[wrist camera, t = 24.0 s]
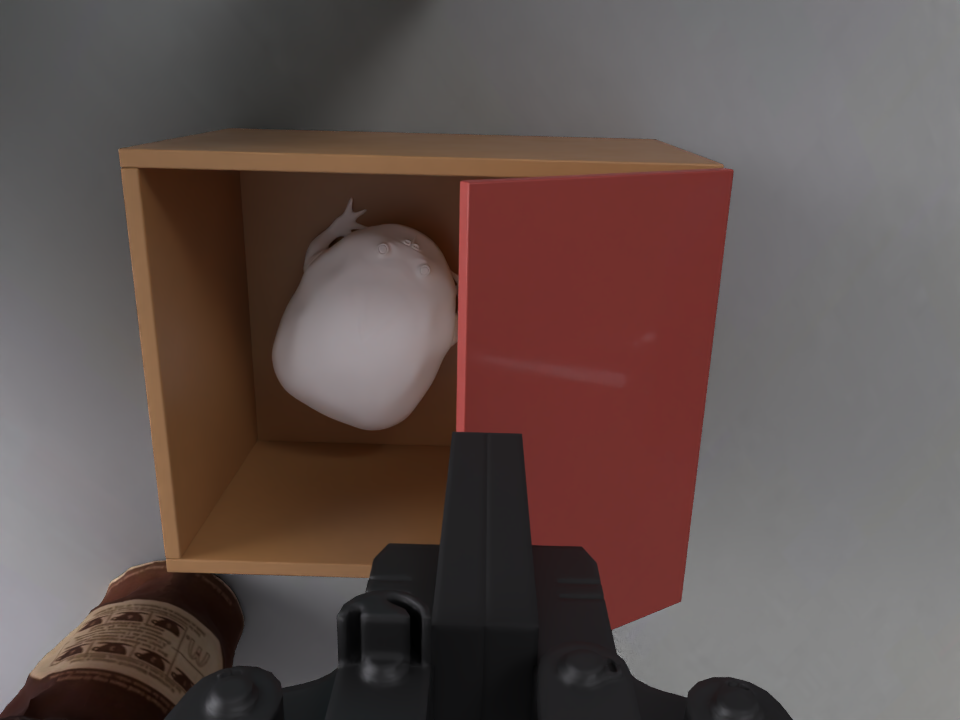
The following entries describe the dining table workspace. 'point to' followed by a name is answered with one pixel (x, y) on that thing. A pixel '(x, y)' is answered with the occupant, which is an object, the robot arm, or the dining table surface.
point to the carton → (256, 317)
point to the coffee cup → (136, 649)
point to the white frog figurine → (367, 323)
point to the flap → (596, 357)
